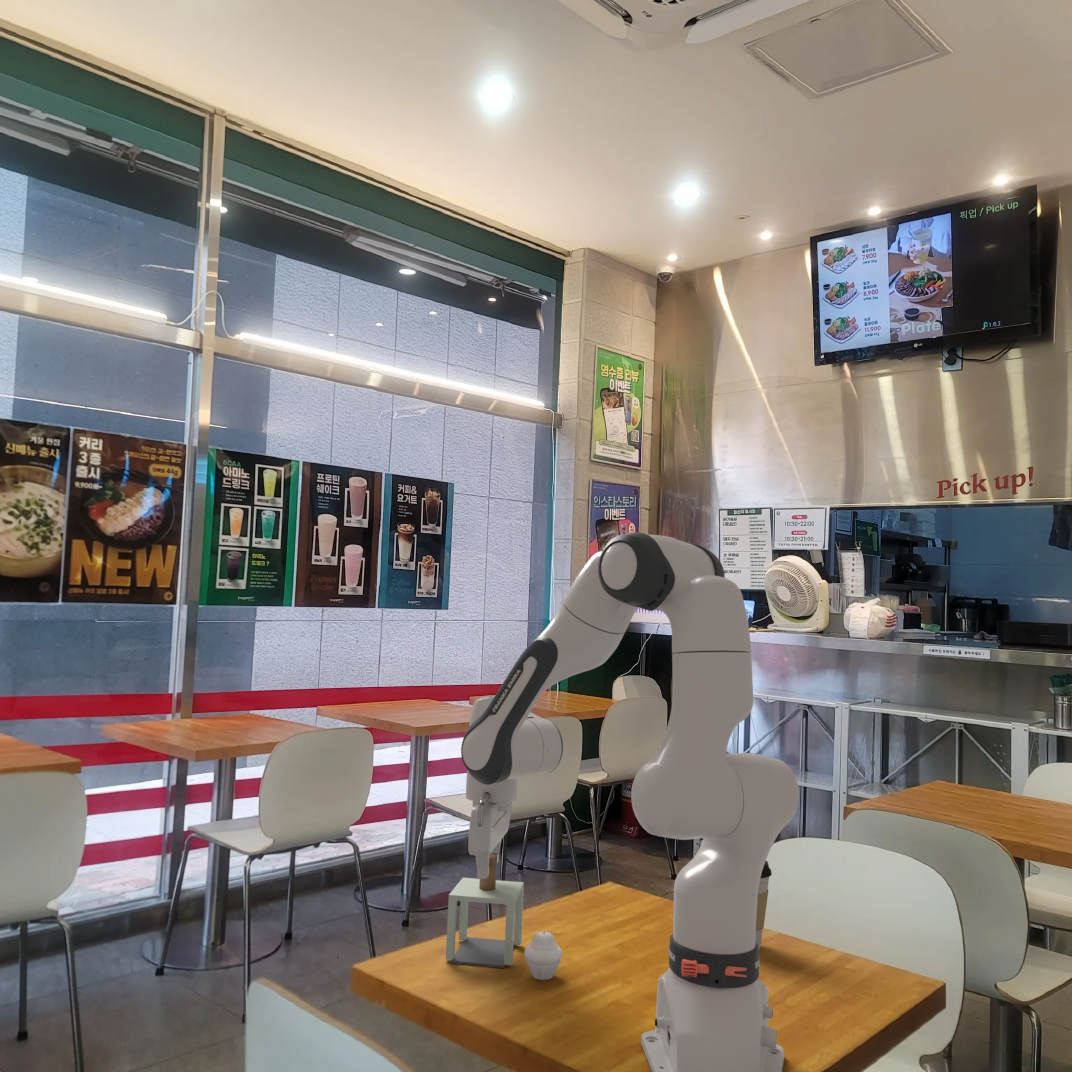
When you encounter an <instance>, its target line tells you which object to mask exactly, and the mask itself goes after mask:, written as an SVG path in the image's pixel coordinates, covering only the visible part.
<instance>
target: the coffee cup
mask: <svg viewBox="0 0 1072 1072" xmlns="http://www.w3.org/2000/svg"><path fill="white" fill-rule="evenodd" d="M772 875H773V874H772V870H771V868H770V866H769V862H768V860H766V861H765V864H764V867H763V870H762V873H761V877H760V882H759V887H758V895H757V913H756V943H757V944H758V950H759V951H760V950H761V944H762V938H763V937H762V936H763V930H764V927H765V919H766V911H767V904H768V897H769V896H768V895H769V889H768V888H769V882H770V881H769V879H770V877H771V876H772Z"/></svg>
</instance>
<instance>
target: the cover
mask: <svg viewBox="0 0 1072 1072" xmlns="http://www.w3.org/2000/svg"><path fill="white" fill-rule="evenodd" d="M497 865H498V863H497V858H495V857H490V856H489V875H488V877H487V878H486V879H479V878H473V877H461V879H460V881H459V882H458V883H457V884H456V886H455V887H454V888H453V889H452V890H451V891H450V893H448V901H447V920H446V921H447V925H446V944H445V946H446V947H445V960H449V961H451V960H453V959H454V955H455V953H456V951H455V950H456V931H457V930H456V928H457V927H456V926H457V909H458V908H457V907H458V902H460V905H459V926H458V928H459V929H458V930H459V931H458V941H463V940H466V939H467V937H468V919H469V918H468V917H469V903H470V902H471V903H481V904H484V903H485V904H493V905H494V904H495V905H506V908H505V910H506V911H505V913H506V914H505V931H504V933H505V934H504V940H505V954H504V965H506V966H512V965H513V956H514V948H513V941H514V945H515V946H521V945H522V943H523V942H522V937H523V935H522V934H523V917H524V916H523V915H524V914H523V912H524V911H523V909H524V891H525V882H523V881H512V880H511V881H509V880H497ZM461 931H462V932H461Z"/></svg>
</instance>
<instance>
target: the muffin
mask: <svg viewBox="0 0 1072 1072" xmlns="http://www.w3.org/2000/svg"><path fill="white" fill-rule="evenodd" d="M523 954H524V955H523V956H524V958H525V963H526V965H527V966H528V969H529V970H530V974H531V976H532V977H533V978H534V979H536V980H541V981H546V980H547V981H548V980H551V979H553V977H554V975H555V974H556V971H557V969H558V968H559V966H560V964H561V960H562V958H563V950H562V948H560V946H559V945H558V943H557V942H556V937H555V935H554V934H553V933H552V932H550V931H537V932H536V933H535V934H534V935H533V937H532V940H531V942H530V943H529V944H528V945H527V946H526V947H525V949H524V953H523Z"/></svg>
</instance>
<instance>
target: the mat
mask: <svg viewBox="0 0 1072 1072" xmlns="http://www.w3.org/2000/svg"><path fill="white" fill-rule="evenodd" d="M515 946H516V945H514V940H513V949H514V948H515ZM504 954H505V939H504V940H503V939H494V938H480V937H472V936H471V937H470V936H467V939H466V940H462V942H461V943H460V945H459V947H458V948H457V950H456V951H455V955H454V959H453V960H450V964H457V965H467V966H476V967H477V966H478V967H488V968H499V969H505V968H506V966H507V965H504Z"/></svg>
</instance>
